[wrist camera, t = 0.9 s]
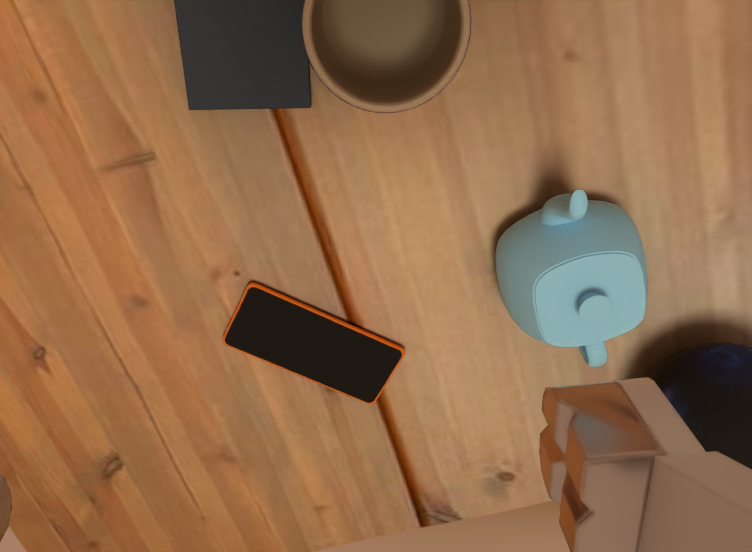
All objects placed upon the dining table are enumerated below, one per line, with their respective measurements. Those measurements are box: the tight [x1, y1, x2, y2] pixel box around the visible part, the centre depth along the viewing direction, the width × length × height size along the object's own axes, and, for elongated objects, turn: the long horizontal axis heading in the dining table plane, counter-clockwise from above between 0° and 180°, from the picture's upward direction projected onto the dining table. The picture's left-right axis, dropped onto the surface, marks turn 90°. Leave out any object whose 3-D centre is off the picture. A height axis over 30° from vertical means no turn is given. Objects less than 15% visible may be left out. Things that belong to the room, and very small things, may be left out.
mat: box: [174, 0, 311, 110], centre depth 52 cm, size 10×10×1 cm
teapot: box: [495, 189, 647, 367], centre depth 55 cm, size 13×11×18 cm
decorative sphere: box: [650, 343, 752, 469], centre depth 60 cm, size 15×15×15 cm
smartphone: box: [222, 282, 405, 404], centre depth 64 cm, size 8×17×1 cm, turn 63°
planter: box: [302, 0, 471, 113], centre depth 46 cm, size 11×11×11 cm
